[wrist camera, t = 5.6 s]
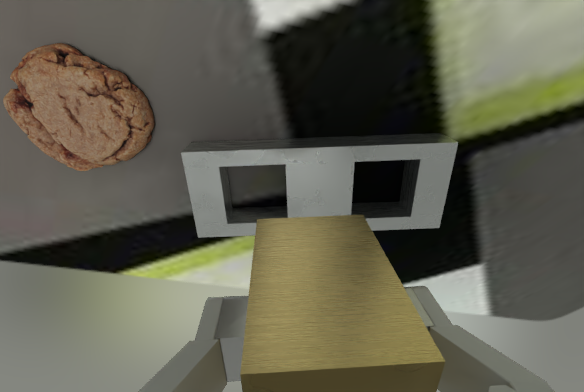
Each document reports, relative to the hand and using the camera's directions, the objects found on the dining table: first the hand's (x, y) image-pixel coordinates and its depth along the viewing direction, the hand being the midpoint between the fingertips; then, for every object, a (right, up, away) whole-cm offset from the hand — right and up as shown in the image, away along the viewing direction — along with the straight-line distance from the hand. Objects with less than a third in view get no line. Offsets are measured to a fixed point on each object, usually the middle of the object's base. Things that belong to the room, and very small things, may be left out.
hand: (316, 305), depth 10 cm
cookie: (-18, +11, +15) cm, 26 cm away
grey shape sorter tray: (+1, +5, +18) cm, 19 cm away
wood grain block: (0, +1, +2) cm, 2 cm away
